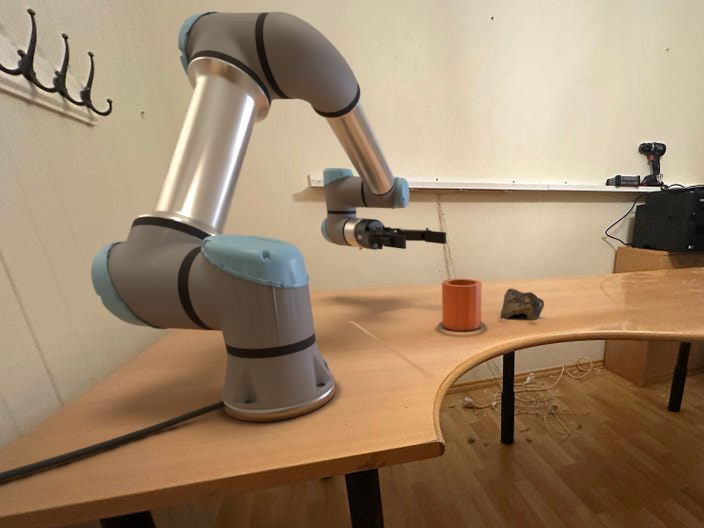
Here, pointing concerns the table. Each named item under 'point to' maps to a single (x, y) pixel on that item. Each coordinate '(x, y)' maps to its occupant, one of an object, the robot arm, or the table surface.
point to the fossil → (521, 304)
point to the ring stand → (460, 330)
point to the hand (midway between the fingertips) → (426, 240)
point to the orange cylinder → (461, 304)
